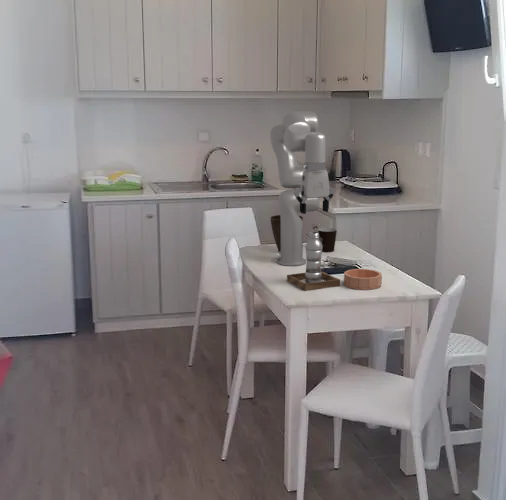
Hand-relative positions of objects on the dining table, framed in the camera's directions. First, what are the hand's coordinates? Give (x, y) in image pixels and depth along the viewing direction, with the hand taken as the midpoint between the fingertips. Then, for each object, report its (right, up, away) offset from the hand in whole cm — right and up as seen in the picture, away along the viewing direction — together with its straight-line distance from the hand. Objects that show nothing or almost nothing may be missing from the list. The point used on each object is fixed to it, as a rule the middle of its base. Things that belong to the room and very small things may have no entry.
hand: (314, 212), depth 264 cm
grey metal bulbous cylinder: (0, -27, +6) cm, 28 cm away
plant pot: (-8, -15, +60) cm, 62 cm away
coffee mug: (+11, -14, +62) cm, 65 cm away
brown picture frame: (0, -27, +6) cm, 28 cm away
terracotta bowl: (+19, -28, +4) cm, 34 cm away
